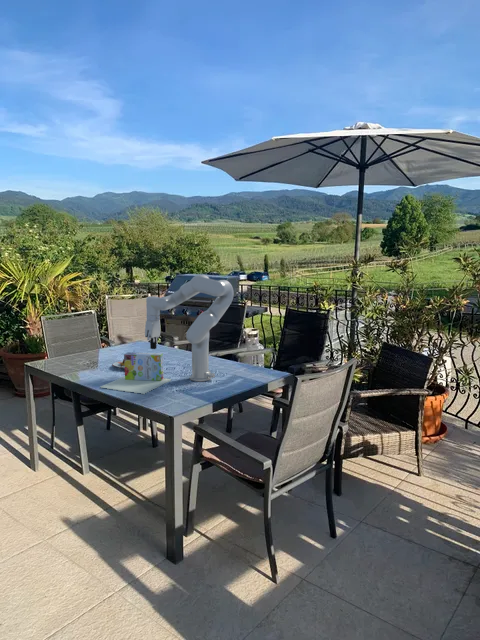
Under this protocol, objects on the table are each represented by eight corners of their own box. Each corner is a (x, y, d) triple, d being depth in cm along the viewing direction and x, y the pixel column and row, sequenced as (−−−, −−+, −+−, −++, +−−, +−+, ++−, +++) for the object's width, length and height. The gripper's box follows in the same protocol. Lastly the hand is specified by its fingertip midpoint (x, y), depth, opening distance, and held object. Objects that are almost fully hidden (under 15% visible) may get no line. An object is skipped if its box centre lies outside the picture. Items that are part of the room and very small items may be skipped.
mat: (171, 380, 242) (171, 379, 242) (143, 394, 217) (143, 393, 217) (130, 374, 252) (130, 373, 252) (99, 388, 227) (99, 386, 227)
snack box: (163, 378, 243) (163, 352, 241) (161, 381, 237) (160, 355, 235) (128, 377, 245) (127, 351, 243) (124, 380, 240) (123, 354, 237)
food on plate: (104, 369, 265) (103, 359, 264) (128, 360, 288) (128, 351, 287) (138, 373, 255) (138, 363, 254) (161, 364, 278) (160, 354, 277)
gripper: (154, 315, 254) (154, 345, 257) (140, 319, 241) (140, 350, 244) (165, 316, 252) (165, 346, 255) (151, 320, 238) (151, 352, 241)
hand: (153, 348), depth 249 cm, fingers closed
